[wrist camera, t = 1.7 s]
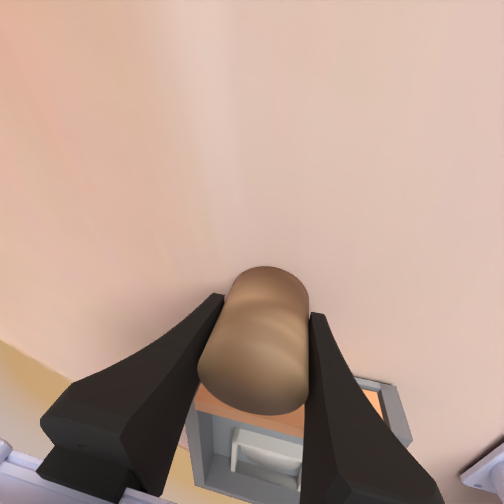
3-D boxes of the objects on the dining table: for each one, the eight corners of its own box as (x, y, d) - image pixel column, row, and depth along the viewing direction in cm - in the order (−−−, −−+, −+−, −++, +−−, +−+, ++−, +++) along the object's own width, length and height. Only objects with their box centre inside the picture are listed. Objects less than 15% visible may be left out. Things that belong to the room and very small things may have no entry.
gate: (376, 392, 15) (390, 451, 12) (371, 401, 15) (384, 460, 12) (212, 354, 16) (193, 400, 13) (212, 363, 17) (194, 409, 14)
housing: (396, 386, 15) (413, 440, 12) (332, 486, 24) (334, 529, 21) (198, 341, 17) (178, 381, 14) (205, 449, 25) (194, 485, 23)
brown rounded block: (316, 274, 12) (319, 360, 8) (301, 333, 14) (298, 425, 10) (232, 260, 13) (193, 332, 9) (230, 319, 15) (199, 400, 11)
